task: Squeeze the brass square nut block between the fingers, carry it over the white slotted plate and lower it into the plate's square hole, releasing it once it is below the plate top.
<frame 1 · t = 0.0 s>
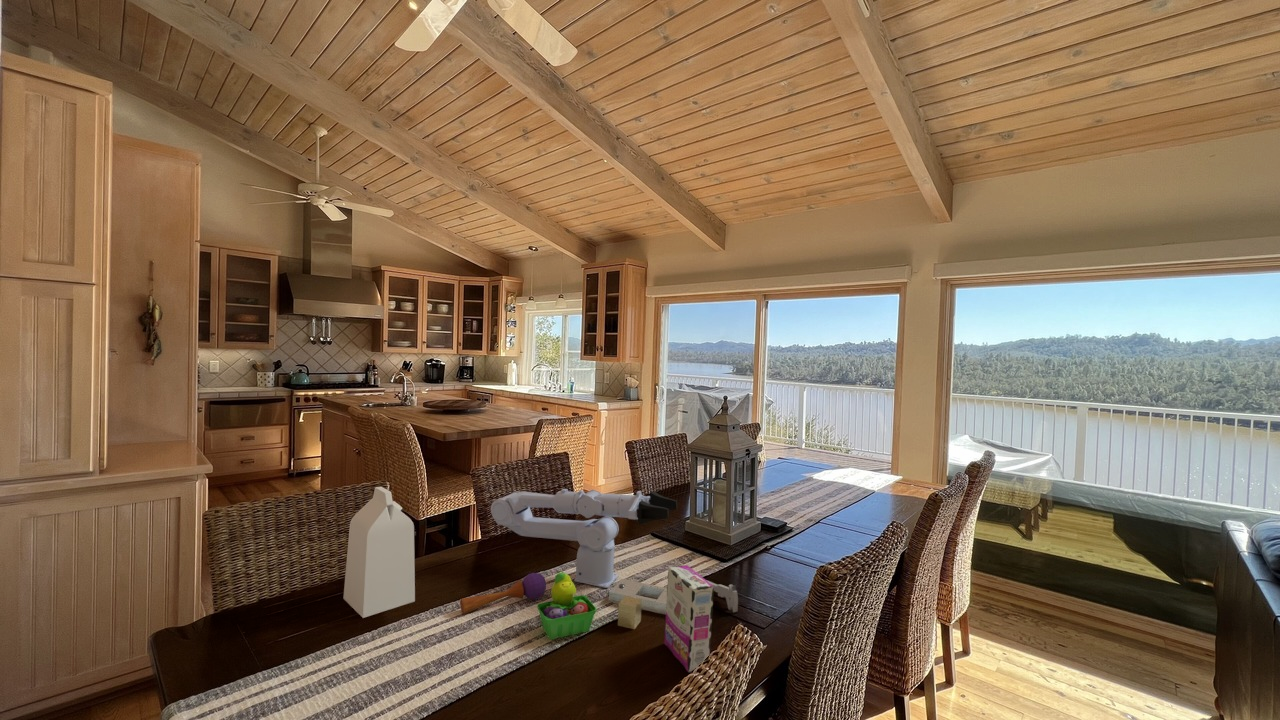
hand: (672, 509, 134), 22 cm above the table, tool horizontal, fingers open, 7 cm apart
nut block: (629, 623, 120), on the table
white slotted plate: (649, 602, 130), on the table
milk: (379, 600, 125), on the table
fruit basket: (564, 629, 117), on the table
candy bar box: (686, 656, 109), on the table
caliper: (711, 596, 136), on the table
purple maraca: (504, 605, 127), on the table
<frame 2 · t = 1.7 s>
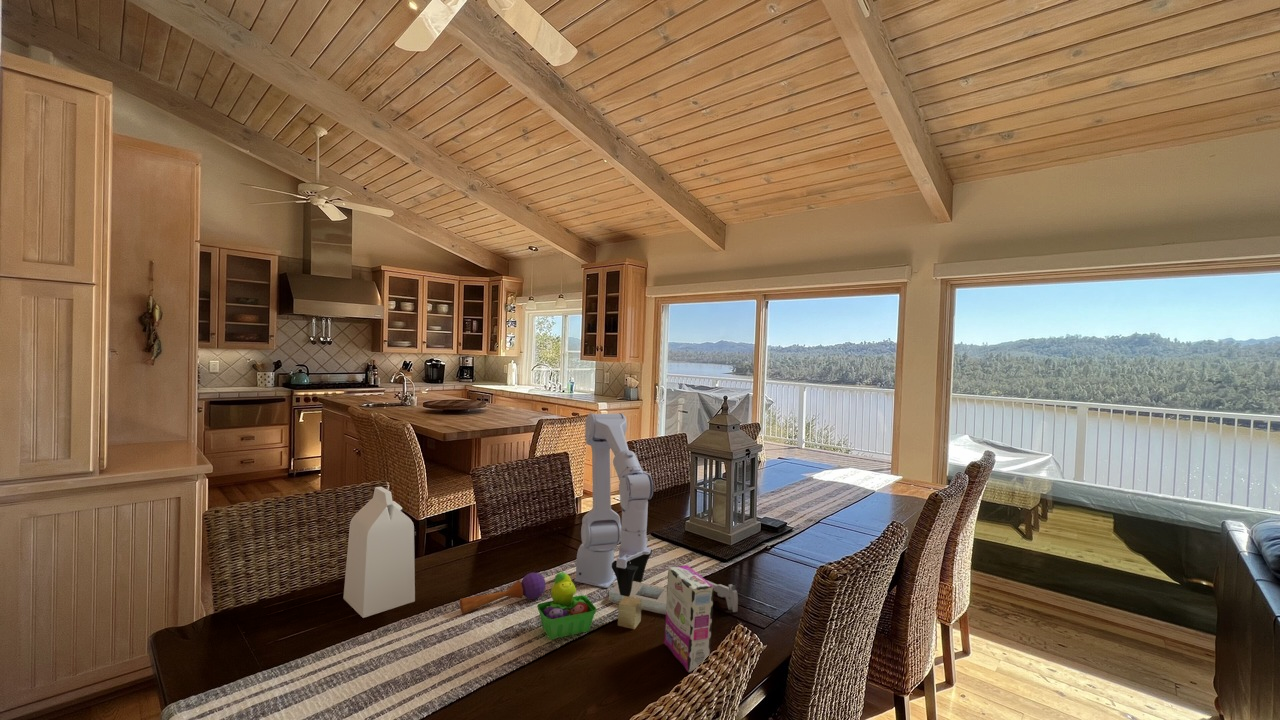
hand: (631, 588, 120), 8 cm above the table, tool pointing down, fingers open, 7 cm apart
nothing on the table moved.
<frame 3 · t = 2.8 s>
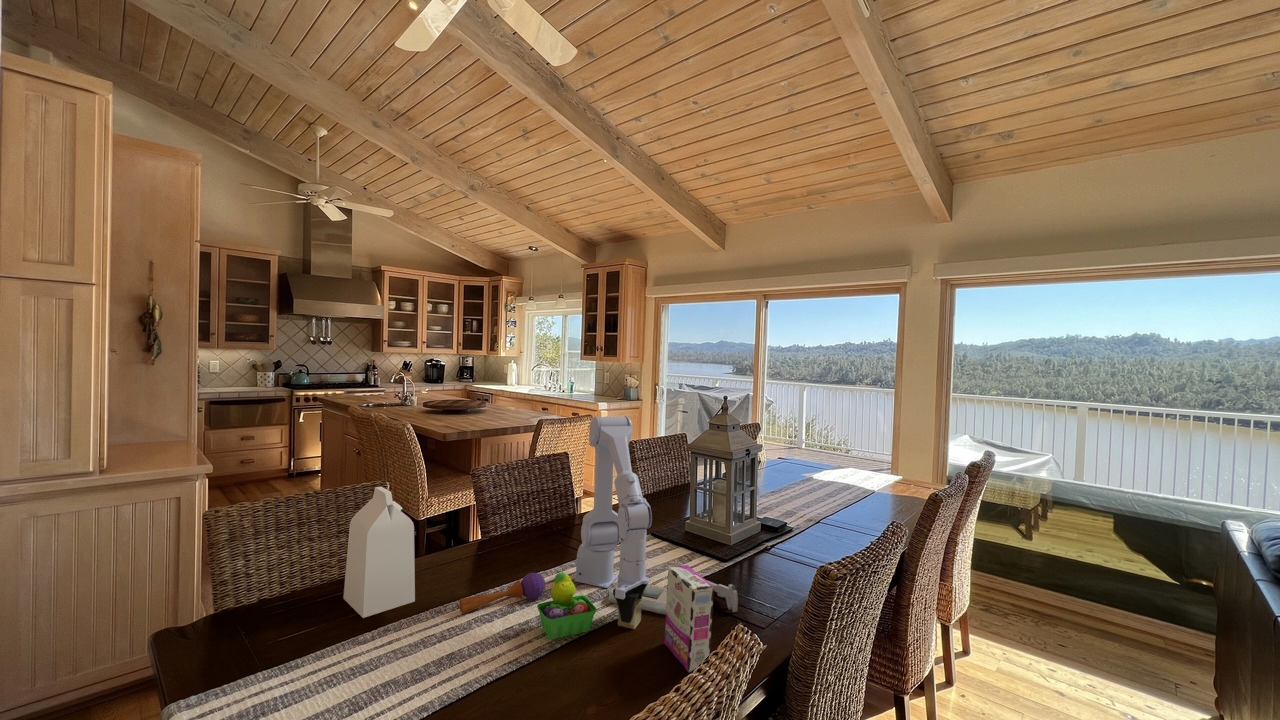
hand: (629, 616, 120), 1 cm above the table, tool pointing down, fingers closed on nut block, 4 cm apart
nut block: (629, 623, 120), on the table, touching gripper
everything else where it was.
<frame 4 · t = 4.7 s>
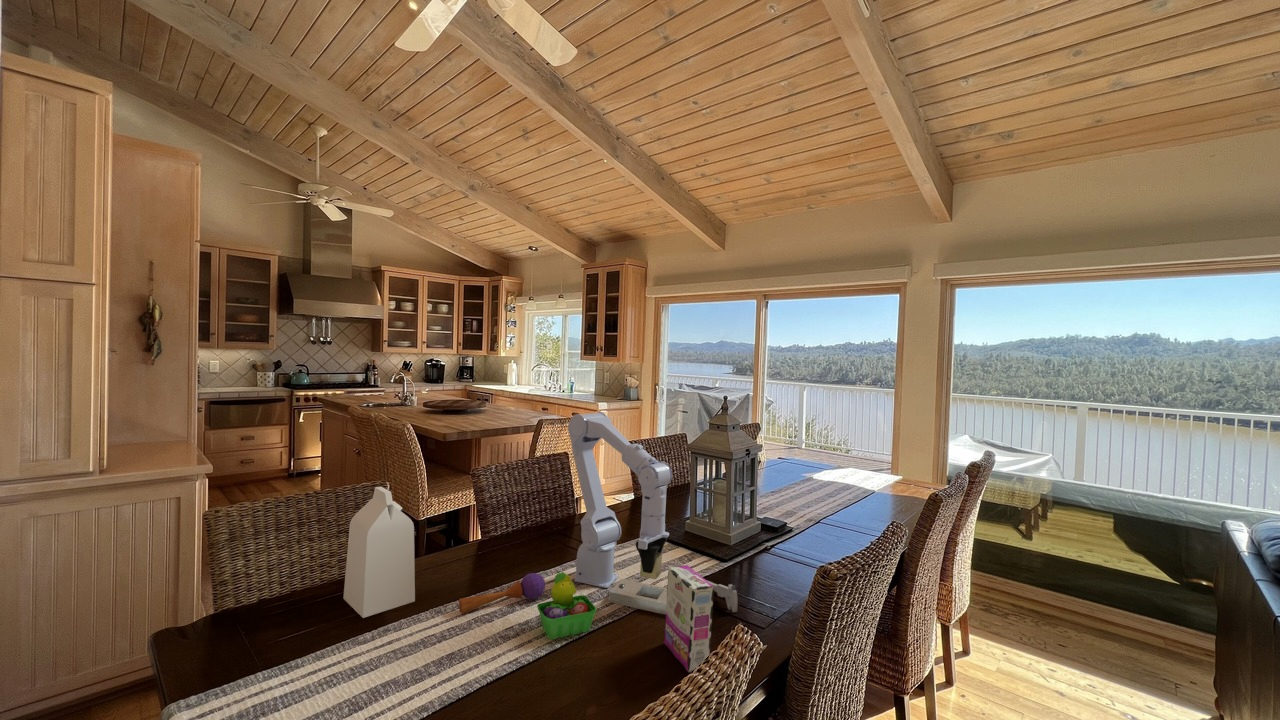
hand: (650, 568, 130), 8 cm above the table, tool pointing down, fingers closed on nut block, 4 cm apart
nut block: (650, 574, 130), point 7 cm above the table, touching gripper
everything else where it was.
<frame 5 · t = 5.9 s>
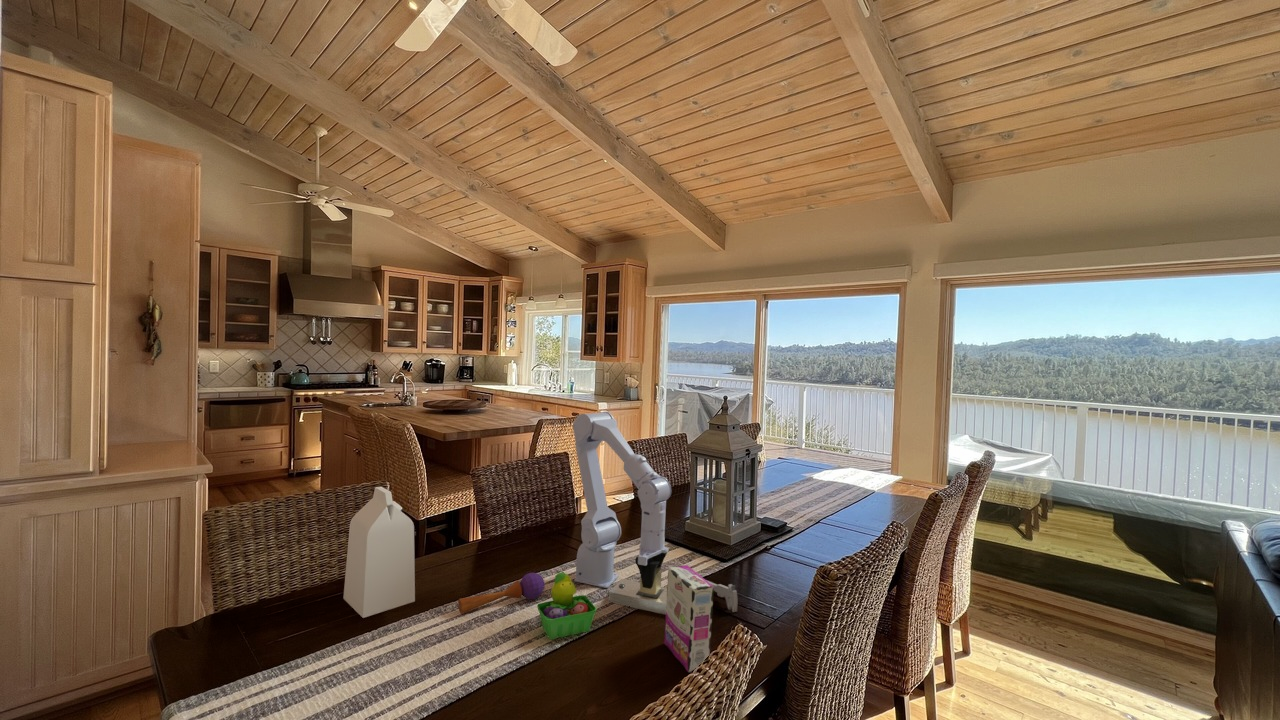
hand: (650, 583, 130), 5 cm above the table, tool pointing down, fingers closed on nut block, 4 cm apart
nut block: (650, 589, 130), point 3 cm above the table, touching gripper
everything else where it was.
when the fingers open (3 cm above the table, at t = 6.8 s): nut block drops 1 cm, resting in white slotted plate.
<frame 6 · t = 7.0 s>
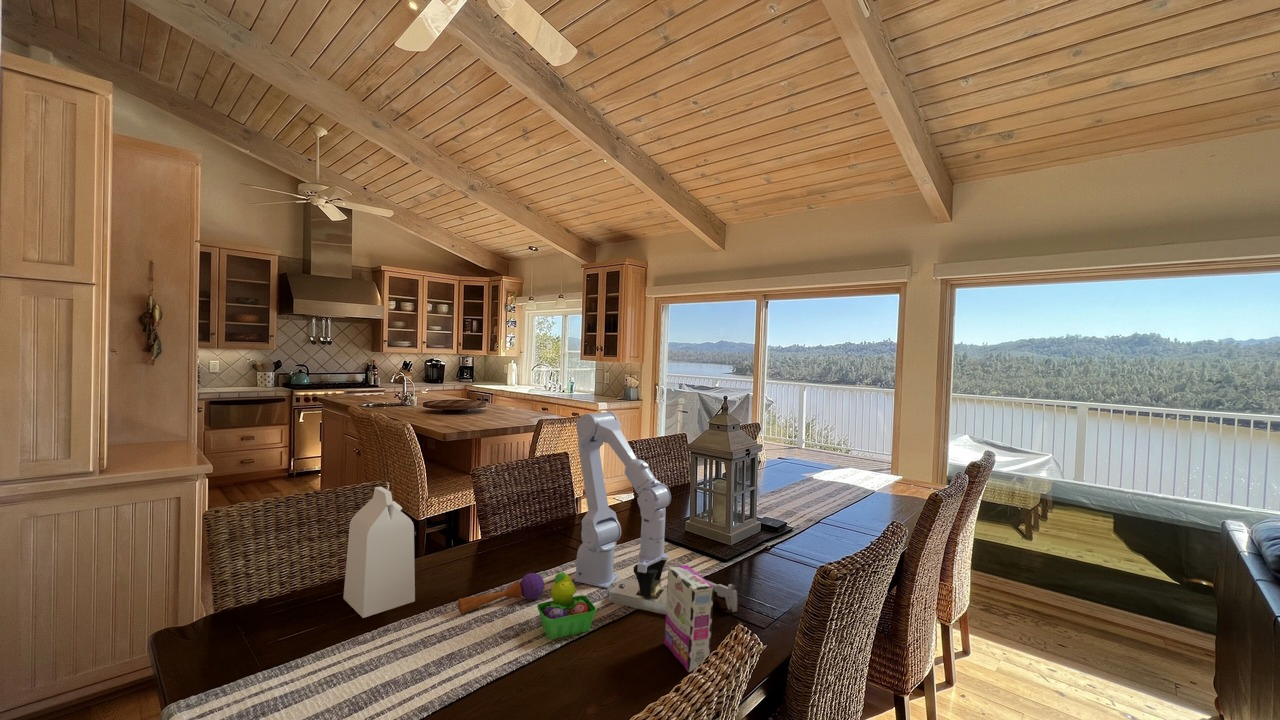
hand: (649, 590, 130), 3 cm above the table, tool pointing down, fingers open, 6 cm apart
nut block: (649, 602, 130), resting in white slotted plate
everything else where it was.
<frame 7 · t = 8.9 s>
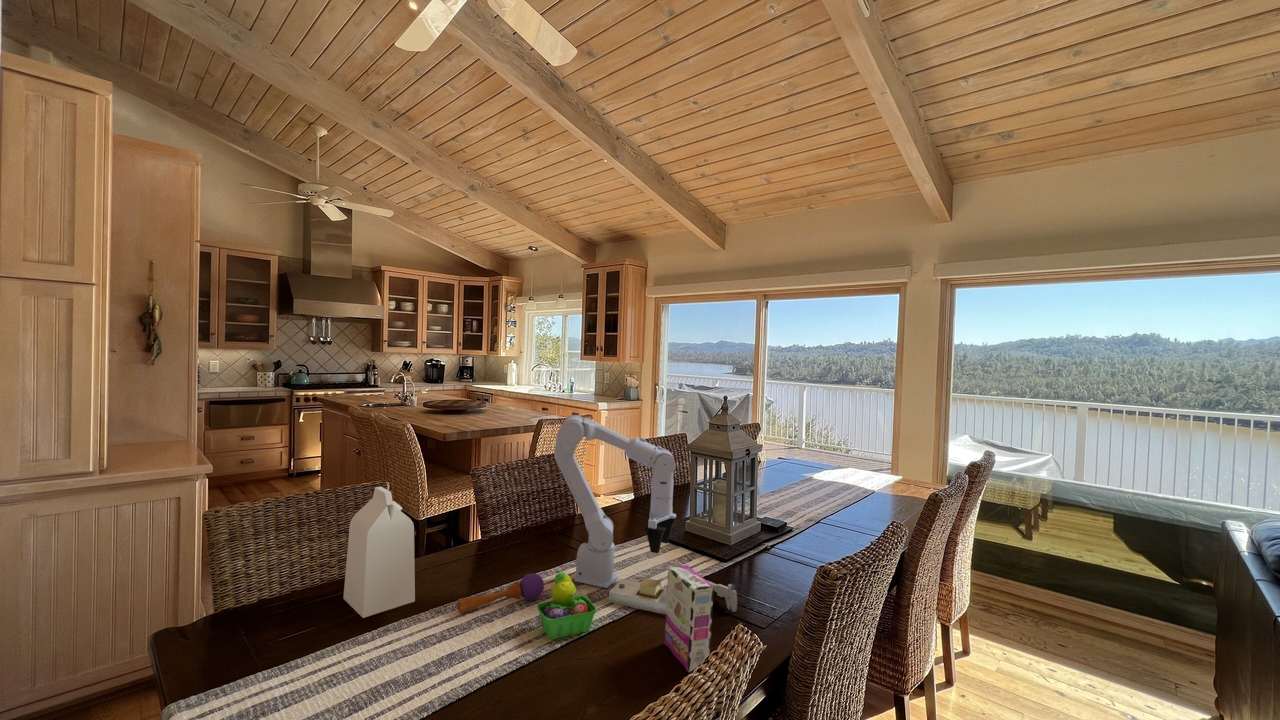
hand: (659, 547, 142), 9 cm above the table, tool pointing down, fingers open, 7 cm apart
nothing on the table moved.
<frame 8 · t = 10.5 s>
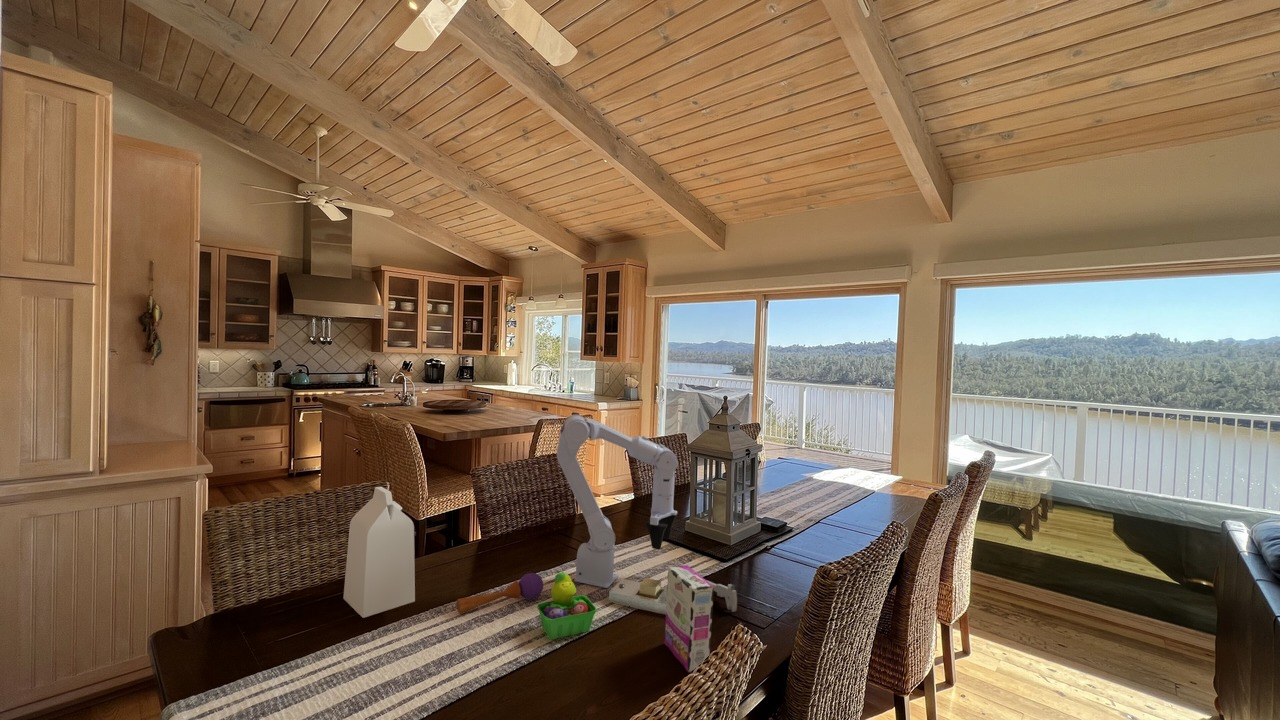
hand: (660, 543, 144), 9 cm above the table, tool pointing down, fingers open, 7 cm apart
nothing on the table moved.
at the end: nut block 0.1 cm off-centre on the white slotted plate, point 0.0 cm above the white slotted plate's base; the gripper is holding nothing; nut block tilted 0° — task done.
